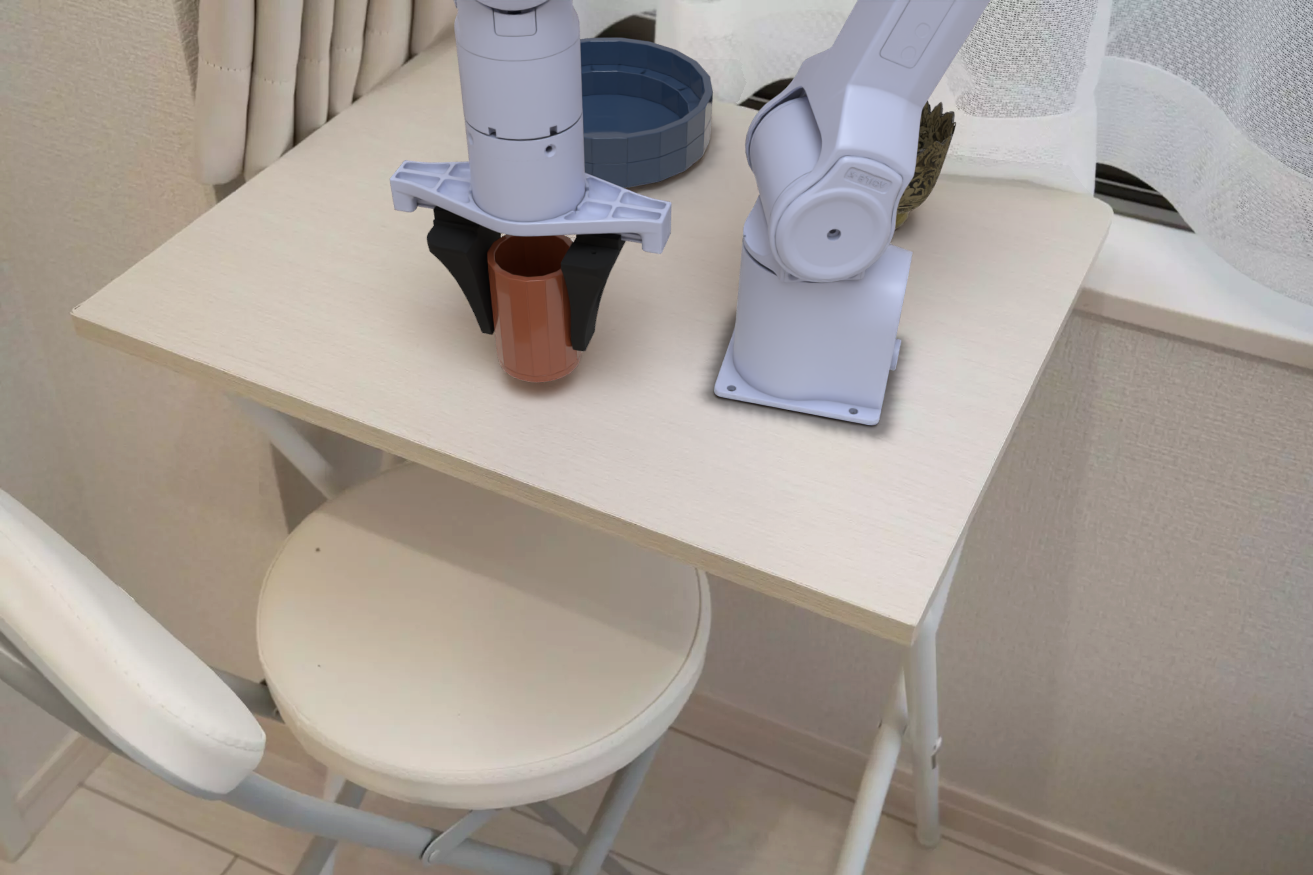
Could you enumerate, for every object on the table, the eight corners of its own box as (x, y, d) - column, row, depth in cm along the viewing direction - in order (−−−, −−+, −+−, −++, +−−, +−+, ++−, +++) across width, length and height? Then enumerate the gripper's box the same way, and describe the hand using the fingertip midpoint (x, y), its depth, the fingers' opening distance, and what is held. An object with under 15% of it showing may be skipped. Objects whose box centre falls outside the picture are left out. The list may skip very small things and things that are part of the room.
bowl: (728, 107, 92) (732, 52, 89) (681, 210, 82) (683, 152, 78) (543, 80, 95) (541, 26, 92) (475, 176, 84) (469, 119, 81)
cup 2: (913, 264, 78) (936, 156, 72) (809, 233, 80) (823, 126, 74) (947, 208, 82) (970, 103, 77) (848, 181, 85) (863, 77, 79)
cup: (592, 337, 69) (589, 236, 64) (566, 389, 65) (561, 287, 61) (514, 323, 70) (505, 222, 65) (485, 374, 66) (473, 272, 61)
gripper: (689, 93, 58) (681, 311, 68) (416, 54, 61) (445, 270, 70) (652, 165, 53) (649, 389, 63) (357, 120, 56) (397, 342, 65)
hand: (538, 331), depth 66 cm, fingers closed on cup, 5 cm apart
